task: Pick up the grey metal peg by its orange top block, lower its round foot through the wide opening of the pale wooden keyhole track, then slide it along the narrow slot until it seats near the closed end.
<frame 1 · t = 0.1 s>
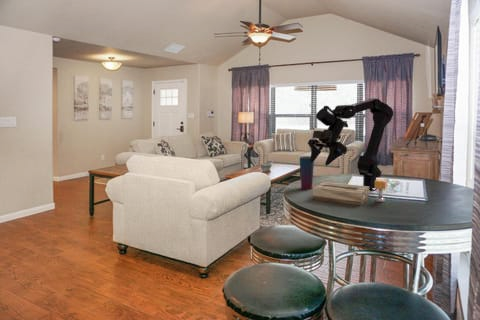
hand: (318, 163, 152), 15 cm above the table, tool tilted 35°, fingers open, 9 cm apart
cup: (306, 188, 172), on the table
peg: (380, 200, 148), on the table
keyhole track: (340, 198, 153), on the table
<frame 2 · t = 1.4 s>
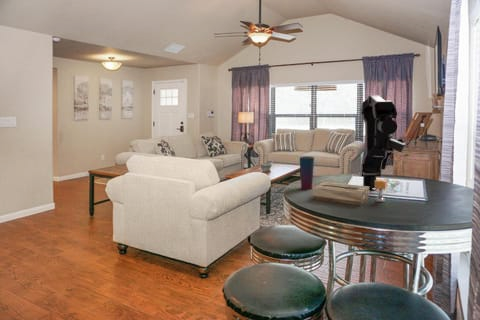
hand: (381, 171, 146), 12 cm above the table, tool pointing down, fingers open, 9 cm apart
nothing on the table moved.
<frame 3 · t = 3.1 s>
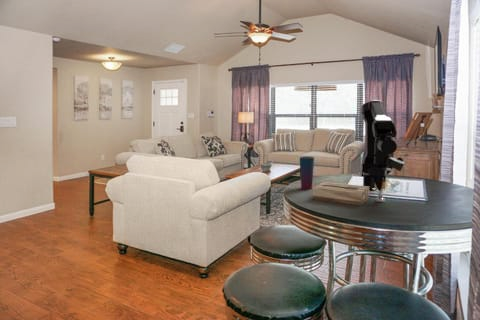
hand: (380, 189, 147), 5 cm above the table, tool pointing down, fingers closed on peg, 4 cm apart
peg: (380, 200, 148), on the table, touching gripper
everything else where it was.
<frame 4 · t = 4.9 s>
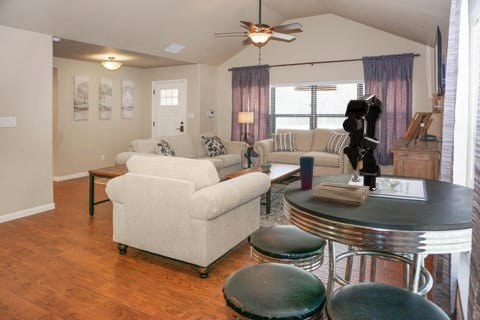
hand: (356, 169, 148), 13 cm above the table, tool pointing down, fingers closed on peg, 4 cm apart
peg: (355, 181, 148), point 8 cm above the table, touching gripper
everything else where it was.
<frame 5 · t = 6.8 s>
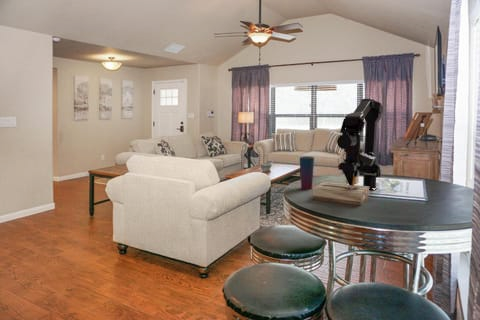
hand: (352, 184, 149), 7 cm above the table, tool pointing down, fingers closed on peg, 4 cm apart
peg: (351, 195, 150), point 2 cm above the table, touching gripper
everything else where it was.
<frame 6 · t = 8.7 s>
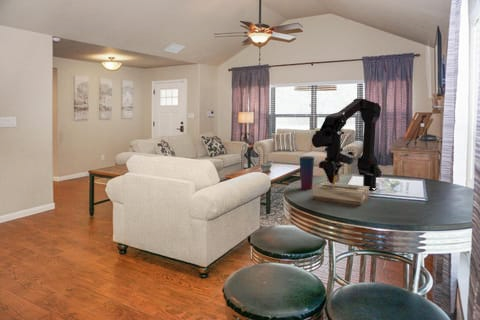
hand: (332, 182, 153), 7 cm above the table, tool pointing down, fingers closed on peg, 4 cm apart
peg: (332, 193, 154), point 2 cm above the table, touching gripper
everything else where it was.
when the fingers open (7 cm above the table, at t = 10.5 s): peg stays where it is, resting on keyhole track.
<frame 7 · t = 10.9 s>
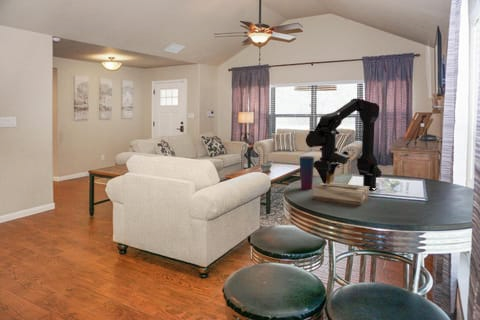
hand: (327, 181, 155), 7 cm above the table, tool pointing down, fingers open, 8 cm apart
peg: (327, 193, 155), point 2 cm above the table, touching keyhole track
everything else where it was.
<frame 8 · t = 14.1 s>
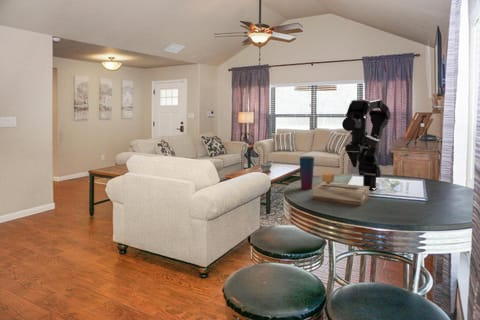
hand: (357, 165, 157), 13 cm above the table, tool pointing down, fingers open, 9 cm apart
nothing on the table moved.
at the end: peg 0.5 cm from the target spot on the keyhole track, point 1.5 cm above the keyhole track's base; peg tilted 0°; the gripper is holding nothing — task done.
